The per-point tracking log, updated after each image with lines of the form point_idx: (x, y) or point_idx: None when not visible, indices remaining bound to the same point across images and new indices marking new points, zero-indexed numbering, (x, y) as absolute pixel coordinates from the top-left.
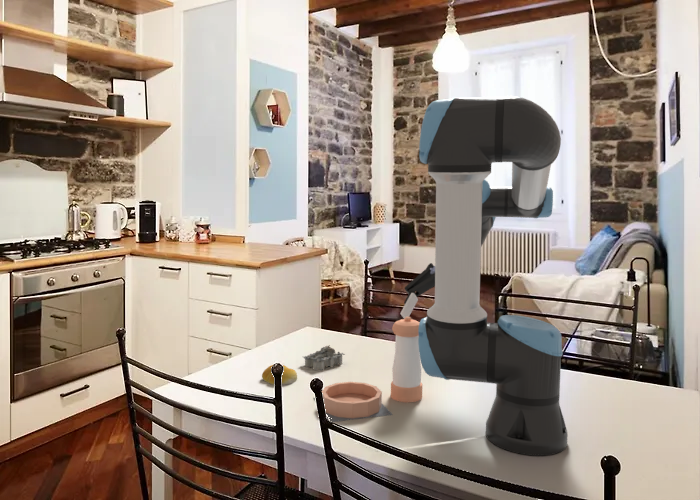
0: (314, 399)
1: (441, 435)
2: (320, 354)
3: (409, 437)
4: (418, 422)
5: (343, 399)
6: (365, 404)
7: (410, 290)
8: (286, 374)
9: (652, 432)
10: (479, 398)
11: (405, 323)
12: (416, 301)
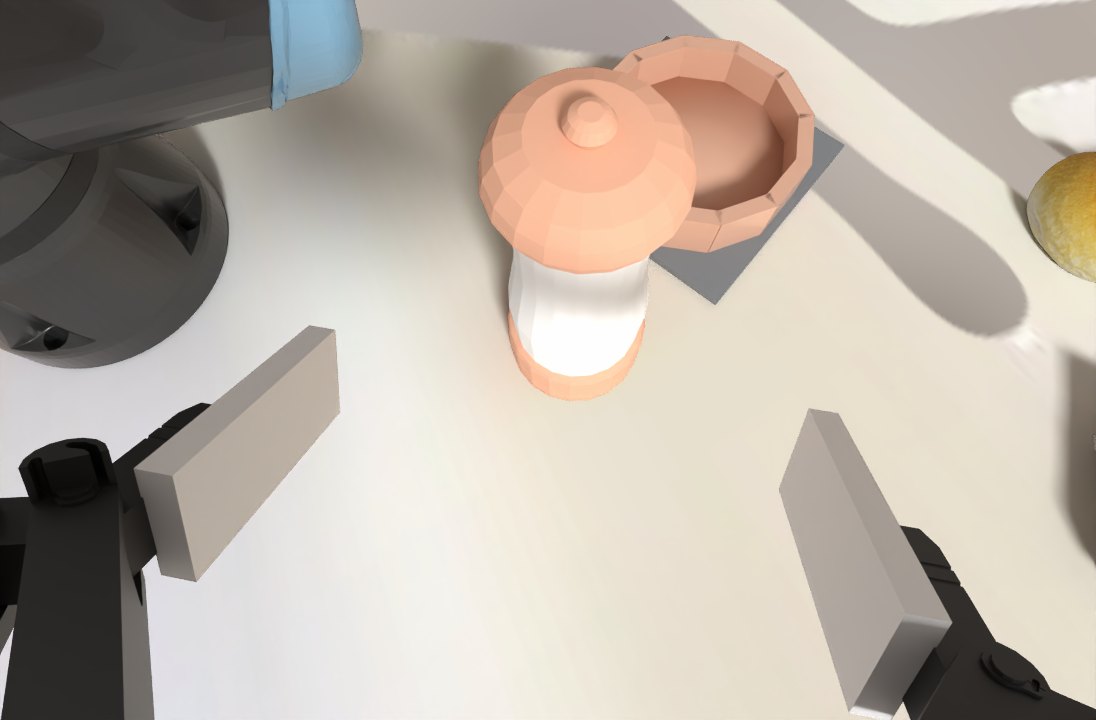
0: (831, 138)
1: (347, 142)
2: None
3: (424, 88)
4: (442, 182)
5: (732, 156)
6: None
7: (1013, 662)
8: (1070, 178)
9: None
10: (313, 503)
11: (570, 77)
12: (840, 665)
